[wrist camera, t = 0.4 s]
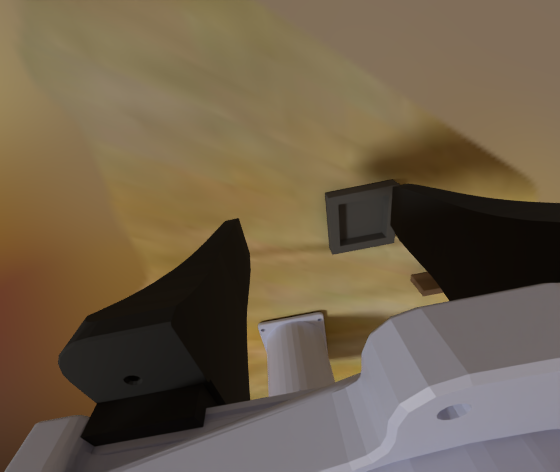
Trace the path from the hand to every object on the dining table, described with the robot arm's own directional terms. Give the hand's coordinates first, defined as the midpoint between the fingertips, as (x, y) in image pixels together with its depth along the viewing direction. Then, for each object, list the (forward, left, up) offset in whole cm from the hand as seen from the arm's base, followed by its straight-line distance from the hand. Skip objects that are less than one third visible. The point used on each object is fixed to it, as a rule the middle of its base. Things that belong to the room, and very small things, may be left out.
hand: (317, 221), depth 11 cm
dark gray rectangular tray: (-6, -6, -10) cm, 13 cm away
